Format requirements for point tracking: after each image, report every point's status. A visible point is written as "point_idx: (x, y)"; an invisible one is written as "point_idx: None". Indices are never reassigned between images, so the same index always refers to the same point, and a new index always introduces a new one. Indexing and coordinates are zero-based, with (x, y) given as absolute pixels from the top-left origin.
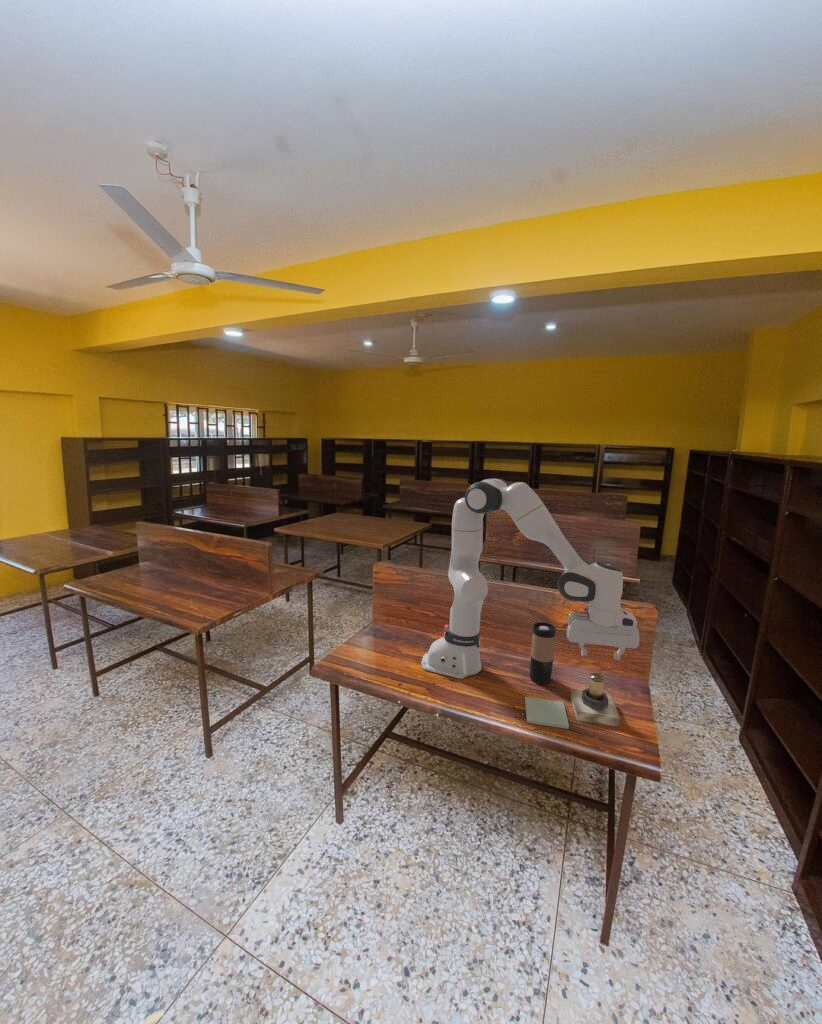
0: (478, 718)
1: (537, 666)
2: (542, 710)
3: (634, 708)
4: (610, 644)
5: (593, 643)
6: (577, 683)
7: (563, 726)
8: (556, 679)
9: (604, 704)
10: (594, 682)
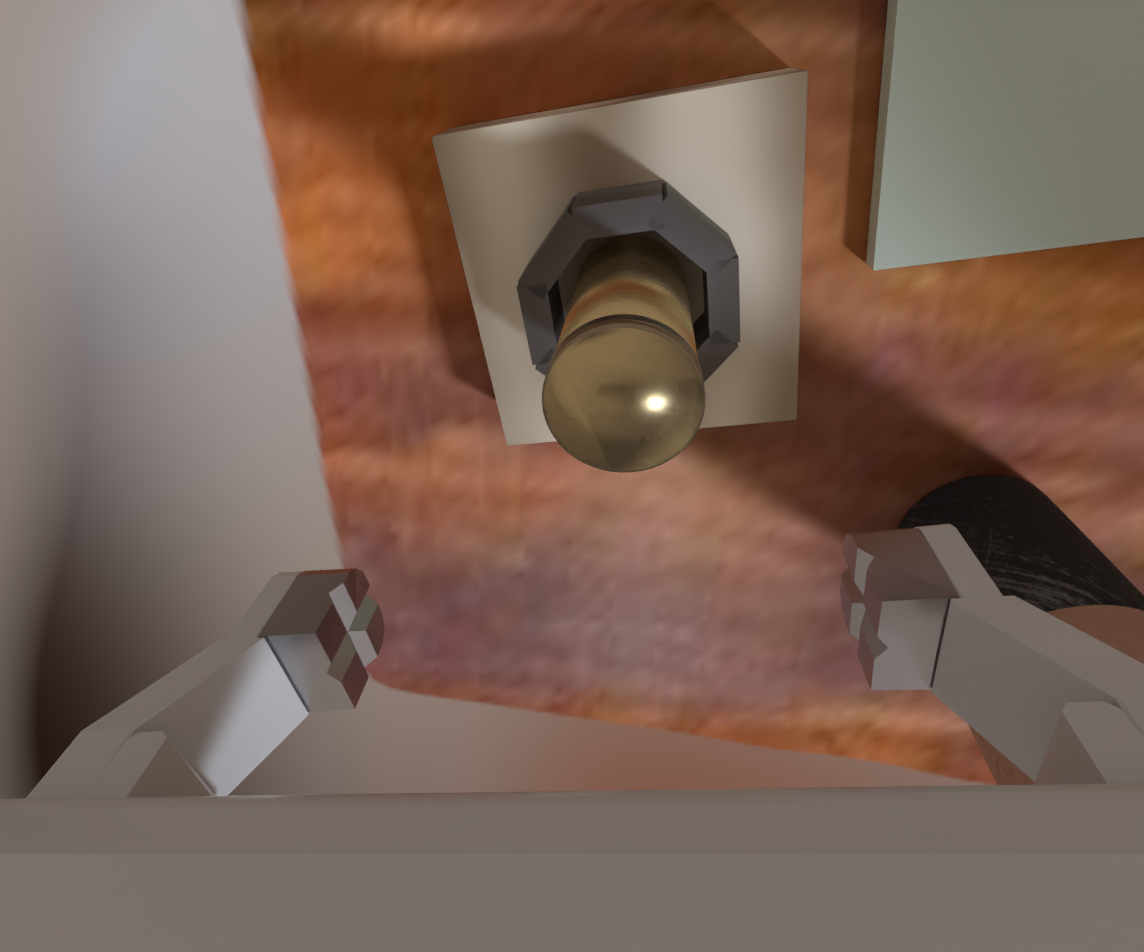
0: None
1: (1107, 570)
2: (1135, 37)
3: (367, 410)
4: (307, 840)
5: (847, 812)
6: (706, 560)
7: None
8: (844, 563)
9: (554, 226)
10: (657, 315)
